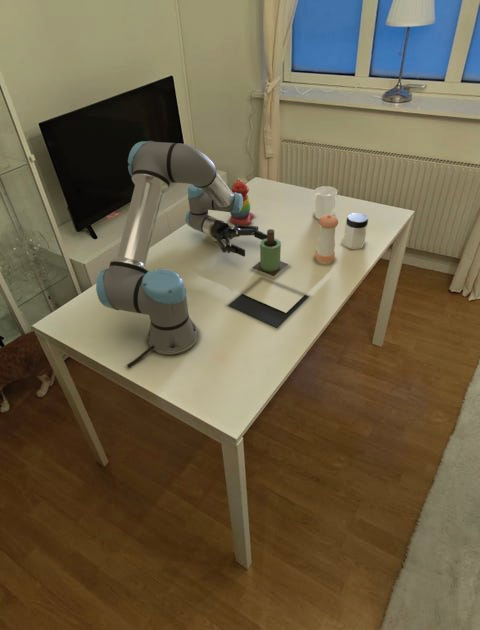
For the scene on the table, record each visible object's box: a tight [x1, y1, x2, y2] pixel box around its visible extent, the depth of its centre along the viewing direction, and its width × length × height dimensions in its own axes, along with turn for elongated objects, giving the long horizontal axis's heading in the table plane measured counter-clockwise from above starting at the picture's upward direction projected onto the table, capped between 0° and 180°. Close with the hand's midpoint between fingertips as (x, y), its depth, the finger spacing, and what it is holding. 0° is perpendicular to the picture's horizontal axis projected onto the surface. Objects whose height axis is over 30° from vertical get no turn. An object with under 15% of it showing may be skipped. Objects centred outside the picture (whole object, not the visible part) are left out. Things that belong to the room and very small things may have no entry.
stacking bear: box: [229, 179, 254, 226], centre depth 190 cm, size 11×10×18 cm
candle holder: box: [314, 185, 338, 220], centre depth 193 cm, size 10×10×12 cm
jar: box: [342, 212, 369, 250], centre depth 173 cm, size 9×8×12 cm
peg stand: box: [252, 228, 289, 277], centre depth 160 cm, size 10×10×16 cm
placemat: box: [228, 293, 309, 329], centre depth 150 cm, size 20×20×1 cm
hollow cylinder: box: [259, 237, 282, 272], centre depth 161 cm, size 7×7×10 cm
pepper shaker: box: [314, 214, 339, 263], centre depth 163 cm, size 7×7×19 cm
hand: (256, 245), depth 164 cm, fingers open, 13 cm apart
